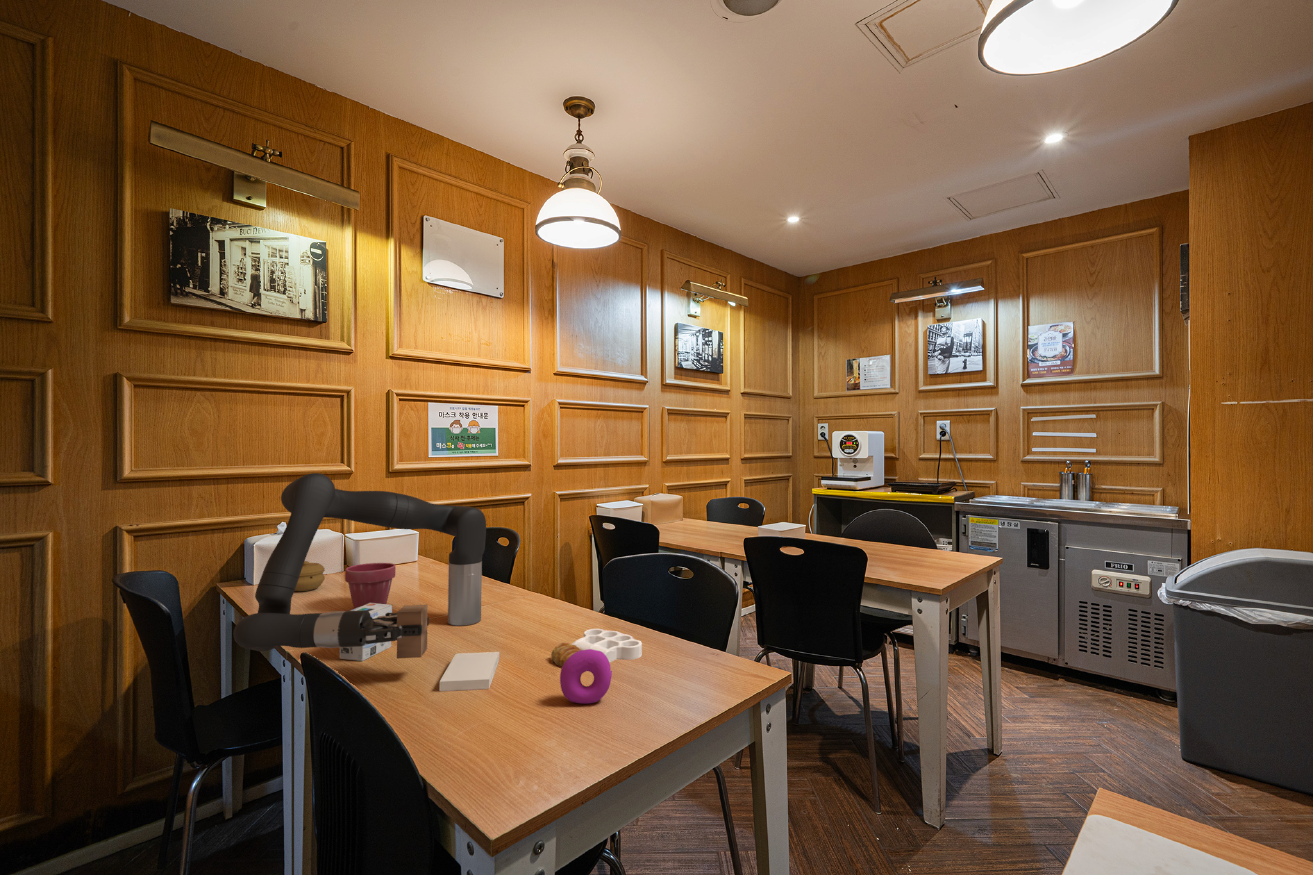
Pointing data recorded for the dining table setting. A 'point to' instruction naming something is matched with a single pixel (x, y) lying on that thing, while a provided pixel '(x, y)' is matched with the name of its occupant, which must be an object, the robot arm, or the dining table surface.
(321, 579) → the pot
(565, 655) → the pastry
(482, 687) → the plastic platform
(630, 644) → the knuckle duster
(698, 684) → the dining table surface
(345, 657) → the light bulb box
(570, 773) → the dining table surface
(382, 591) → the plant pot
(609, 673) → the donut
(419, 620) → the walnut block
